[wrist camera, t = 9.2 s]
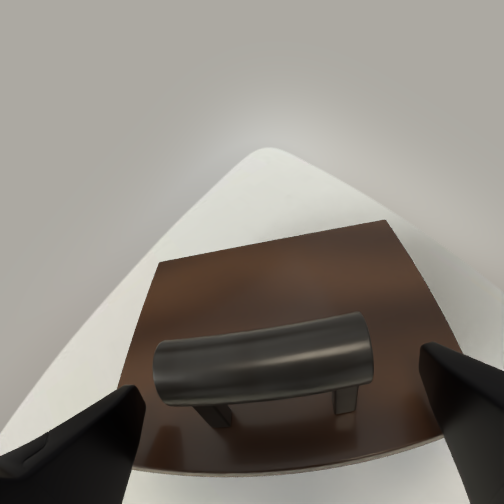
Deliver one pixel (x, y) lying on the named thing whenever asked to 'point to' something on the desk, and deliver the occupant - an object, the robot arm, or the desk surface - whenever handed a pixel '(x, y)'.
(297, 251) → the bin lid
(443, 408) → the robot arm
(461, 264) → the desk surface
